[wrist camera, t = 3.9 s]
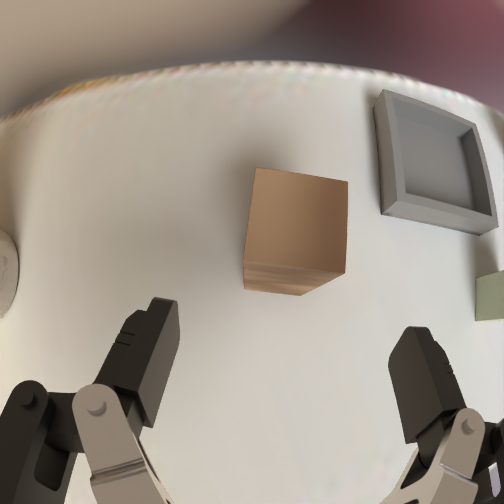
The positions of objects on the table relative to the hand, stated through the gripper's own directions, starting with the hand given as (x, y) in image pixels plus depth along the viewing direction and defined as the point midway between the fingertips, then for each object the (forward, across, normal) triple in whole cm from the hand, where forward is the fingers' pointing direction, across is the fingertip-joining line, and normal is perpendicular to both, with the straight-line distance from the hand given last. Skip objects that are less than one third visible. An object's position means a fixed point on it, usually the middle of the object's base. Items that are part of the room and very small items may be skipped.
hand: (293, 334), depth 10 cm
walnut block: (+11, 0, +5) cm, 12 cm away
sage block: (+10, -21, +5) cm, 24 cm away
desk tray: (+19, -14, -3) cm, 24 cm away
